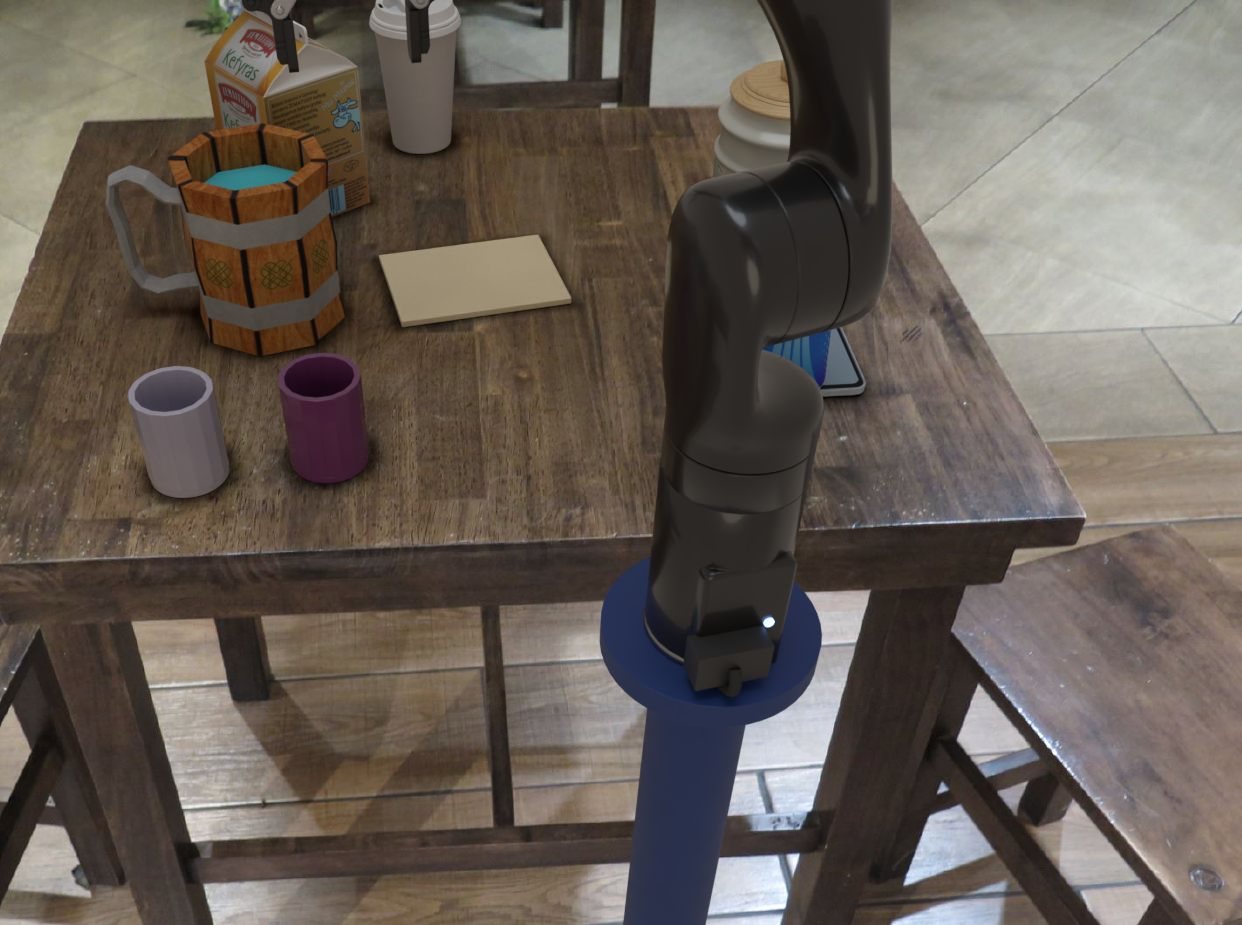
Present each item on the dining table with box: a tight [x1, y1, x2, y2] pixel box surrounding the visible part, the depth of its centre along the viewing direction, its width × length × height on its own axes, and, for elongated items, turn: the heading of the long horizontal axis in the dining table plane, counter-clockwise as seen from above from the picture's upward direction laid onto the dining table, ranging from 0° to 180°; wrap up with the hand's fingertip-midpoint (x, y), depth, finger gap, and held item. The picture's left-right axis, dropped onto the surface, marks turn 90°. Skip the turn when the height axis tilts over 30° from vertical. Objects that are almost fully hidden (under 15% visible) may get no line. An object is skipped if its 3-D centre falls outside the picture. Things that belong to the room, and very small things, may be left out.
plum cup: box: [276, 352, 370, 484], centre depth 98 cm, size 6×6×8 cm
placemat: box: [378, 234, 572, 328], centre depth 120 cm, size 12×16×1 cm
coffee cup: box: [368, 0, 462, 155], centre depth 135 cm, size 10×10×15 cm
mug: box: [104, 123, 347, 357], centre depth 111 cm, size 20×14×15 cm
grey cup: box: [127, 365, 231, 499], centre depth 97 cm, size 6×6×8 cm
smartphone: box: [820, 327, 867, 398], centre depth 112 cm, size 7×1×15 cm
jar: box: [711, 59, 790, 178], centre depth 121 cm, size 13×13×18 cm
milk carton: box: [204, 7, 371, 218], centre depth 124 cm, size 11×11×19 cm
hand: (354, 63), depth 89 cm, fingers open, 8 cm apart
